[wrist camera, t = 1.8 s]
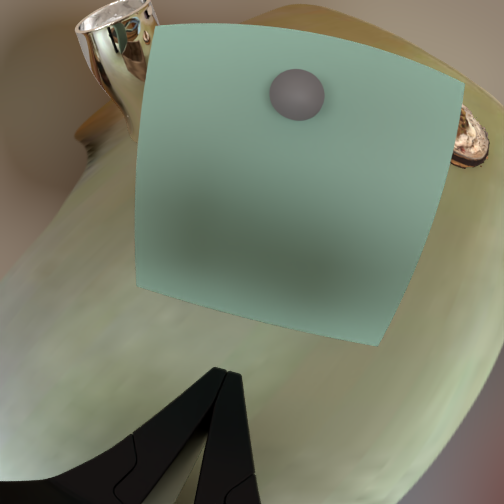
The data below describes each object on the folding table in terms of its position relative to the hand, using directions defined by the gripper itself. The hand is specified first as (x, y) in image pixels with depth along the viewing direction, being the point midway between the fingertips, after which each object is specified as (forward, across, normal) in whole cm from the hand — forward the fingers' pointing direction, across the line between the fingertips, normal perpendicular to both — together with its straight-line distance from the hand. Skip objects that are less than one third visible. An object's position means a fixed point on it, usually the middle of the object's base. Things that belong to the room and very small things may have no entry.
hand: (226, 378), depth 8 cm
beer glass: (+24, +16, -5) cm, 29 cm away
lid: (+8, 0, -4) cm, 9 cm away
